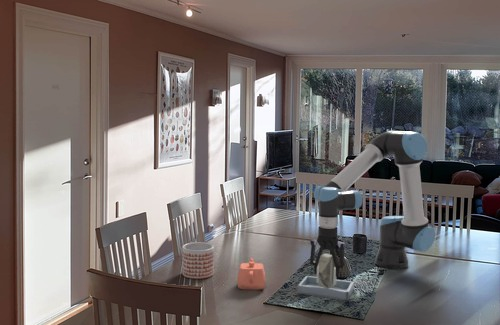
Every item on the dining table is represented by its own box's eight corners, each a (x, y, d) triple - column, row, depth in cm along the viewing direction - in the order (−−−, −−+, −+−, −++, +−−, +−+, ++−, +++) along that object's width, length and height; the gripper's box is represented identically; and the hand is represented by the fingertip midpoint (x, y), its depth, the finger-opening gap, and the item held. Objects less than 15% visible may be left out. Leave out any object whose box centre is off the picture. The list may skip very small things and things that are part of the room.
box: (318, 286, 205) (318, 255, 204) (324, 283, 208) (324, 252, 207) (328, 289, 201) (328, 257, 200) (335, 286, 204) (335, 255, 203)
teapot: (236, 293, 202) (236, 268, 201) (238, 278, 220) (239, 255, 218) (265, 294, 201) (265, 268, 200) (265, 279, 219) (265, 255, 218)
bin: (305, 283, 215) (306, 275, 214) (353, 289, 208) (354, 281, 207) (297, 293, 202) (297, 285, 202) (348, 300, 195) (348, 292, 195)
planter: (194, 281, 215) (194, 252, 214) (176, 273, 225) (176, 245, 224) (219, 275, 224) (220, 246, 223) (201, 267, 234) (201, 240, 233)
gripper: (302, 226, 202) (301, 282, 205) (350, 230, 195) (348, 289, 198) (306, 222, 209) (305, 277, 211) (353, 226, 202) (351, 283, 205)
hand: (326, 282), depth 205 cm, fingers closed on box, 6 cm apart
